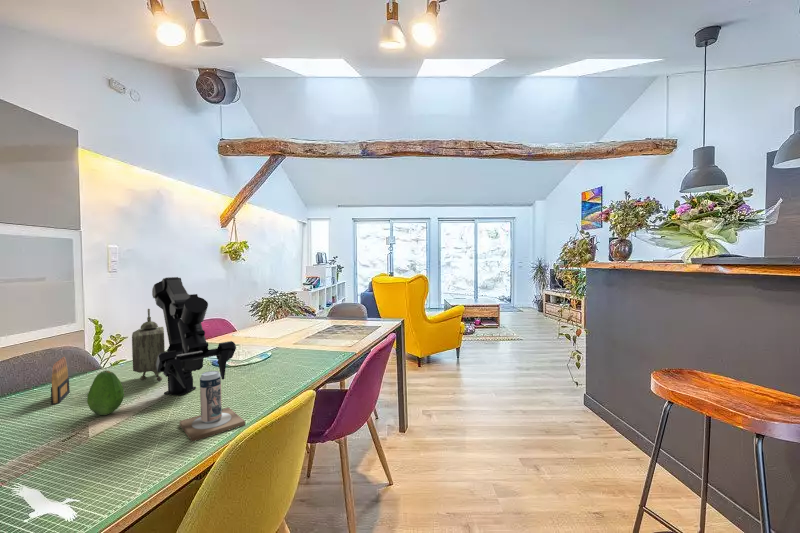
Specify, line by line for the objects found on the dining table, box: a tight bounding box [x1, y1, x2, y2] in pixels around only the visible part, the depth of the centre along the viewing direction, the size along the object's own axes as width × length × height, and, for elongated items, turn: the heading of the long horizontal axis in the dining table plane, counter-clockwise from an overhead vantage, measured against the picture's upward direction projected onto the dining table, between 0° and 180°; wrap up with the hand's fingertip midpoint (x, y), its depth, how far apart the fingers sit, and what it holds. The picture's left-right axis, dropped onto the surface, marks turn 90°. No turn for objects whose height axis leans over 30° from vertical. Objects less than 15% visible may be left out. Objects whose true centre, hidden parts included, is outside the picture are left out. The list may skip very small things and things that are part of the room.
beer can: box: [199, 370, 223, 423], centre depth 93 cm, size 5×5×12 cm
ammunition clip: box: [50, 356, 71, 406], centre depth 113 cm, size 11×2×12 cm, turn 30°
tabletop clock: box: [131, 308, 166, 382], centre depth 130 cm, size 14×9×25 cm, turn 34°
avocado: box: [86, 370, 125, 416], centre depth 101 cm, size 8×8×12 cm
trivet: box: [178, 406, 246, 442], centre depth 93 cm, size 12×12×1 cm
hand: (204, 382), depth 97 cm, fingers open, 9 cm apart
